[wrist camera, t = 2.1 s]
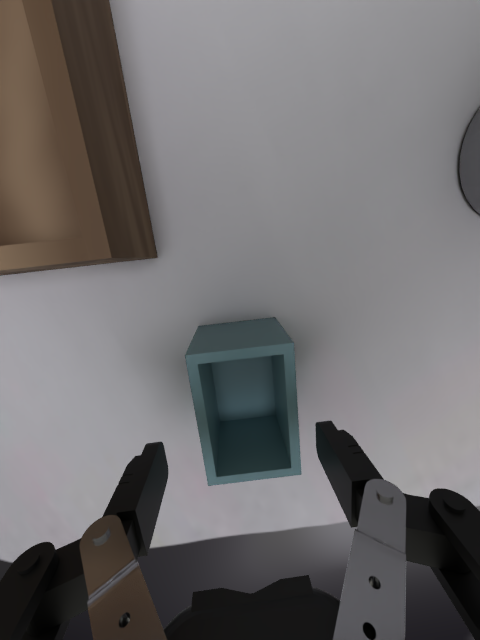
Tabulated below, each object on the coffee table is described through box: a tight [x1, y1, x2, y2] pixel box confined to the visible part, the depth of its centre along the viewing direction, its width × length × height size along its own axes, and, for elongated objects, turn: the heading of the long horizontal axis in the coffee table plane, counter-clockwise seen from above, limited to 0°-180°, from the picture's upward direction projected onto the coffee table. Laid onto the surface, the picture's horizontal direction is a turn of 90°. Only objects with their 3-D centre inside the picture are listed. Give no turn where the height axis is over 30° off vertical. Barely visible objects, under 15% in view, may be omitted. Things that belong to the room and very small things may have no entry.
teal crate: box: [185, 317, 301, 486], centre depth 17 cm, size 6×9×6 cm, turn 6°
